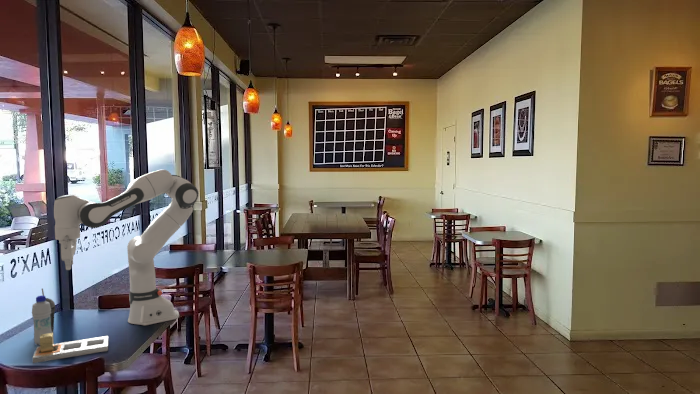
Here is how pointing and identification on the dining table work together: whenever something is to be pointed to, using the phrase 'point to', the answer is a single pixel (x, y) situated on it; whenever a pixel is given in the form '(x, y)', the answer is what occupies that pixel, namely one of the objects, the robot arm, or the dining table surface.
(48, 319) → the bottle
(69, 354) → the white slotted tray
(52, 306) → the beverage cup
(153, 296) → the robot arm
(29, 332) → the dining table surface
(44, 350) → the brass peg
